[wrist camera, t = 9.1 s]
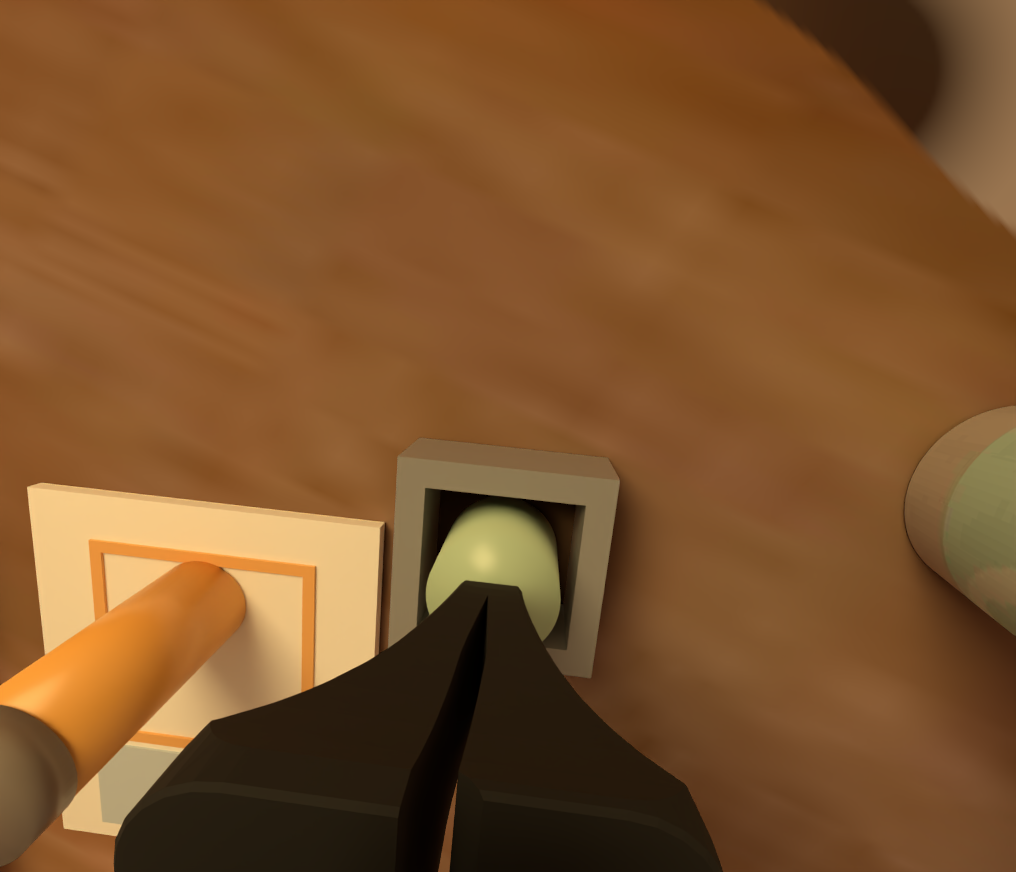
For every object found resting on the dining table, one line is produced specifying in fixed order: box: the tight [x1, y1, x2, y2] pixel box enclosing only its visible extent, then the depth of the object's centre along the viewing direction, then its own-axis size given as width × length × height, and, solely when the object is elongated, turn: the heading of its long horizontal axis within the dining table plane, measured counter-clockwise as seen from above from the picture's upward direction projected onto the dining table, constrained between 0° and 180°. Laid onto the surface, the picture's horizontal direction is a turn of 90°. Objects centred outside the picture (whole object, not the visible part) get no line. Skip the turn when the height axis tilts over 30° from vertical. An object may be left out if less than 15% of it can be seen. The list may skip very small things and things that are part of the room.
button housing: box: [388, 438, 620, 678], centre depth 15 cm, size 6×6×2 cm
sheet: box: [27, 483, 385, 836], centre depth 18 cm, size 14×12×1 cm
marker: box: [0, 561, 246, 866], centre depth 13 cm, size 3×3×7 cm
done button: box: [426, 496, 561, 641], centre depth 14 cm, size 3×3×3 cm
